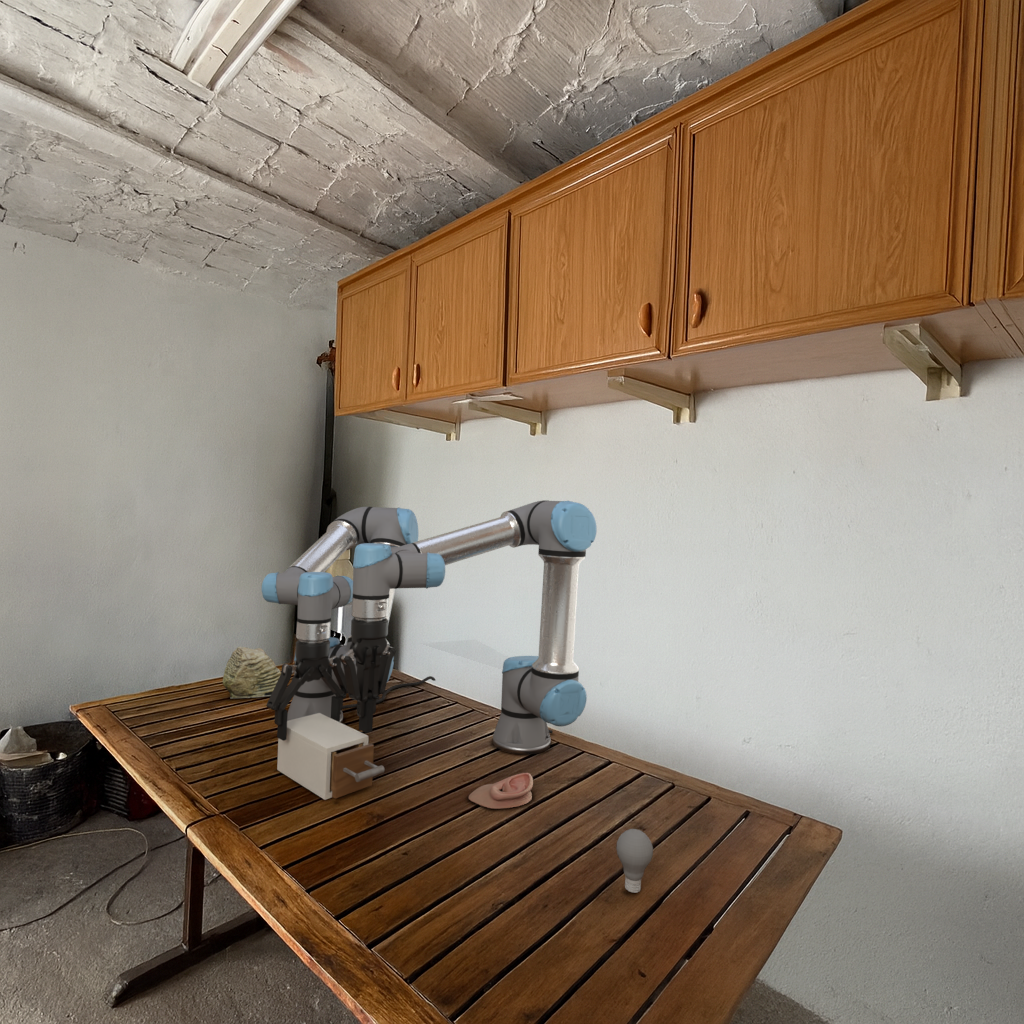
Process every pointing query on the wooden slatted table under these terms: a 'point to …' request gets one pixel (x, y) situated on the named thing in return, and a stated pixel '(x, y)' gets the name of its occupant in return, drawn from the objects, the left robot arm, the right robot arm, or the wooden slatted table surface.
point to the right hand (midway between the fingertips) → (365, 730)
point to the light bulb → (634, 857)
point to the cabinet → (314, 750)
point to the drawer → (352, 769)
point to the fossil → (250, 673)
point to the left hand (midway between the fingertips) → (309, 731)
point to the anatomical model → (504, 792)
